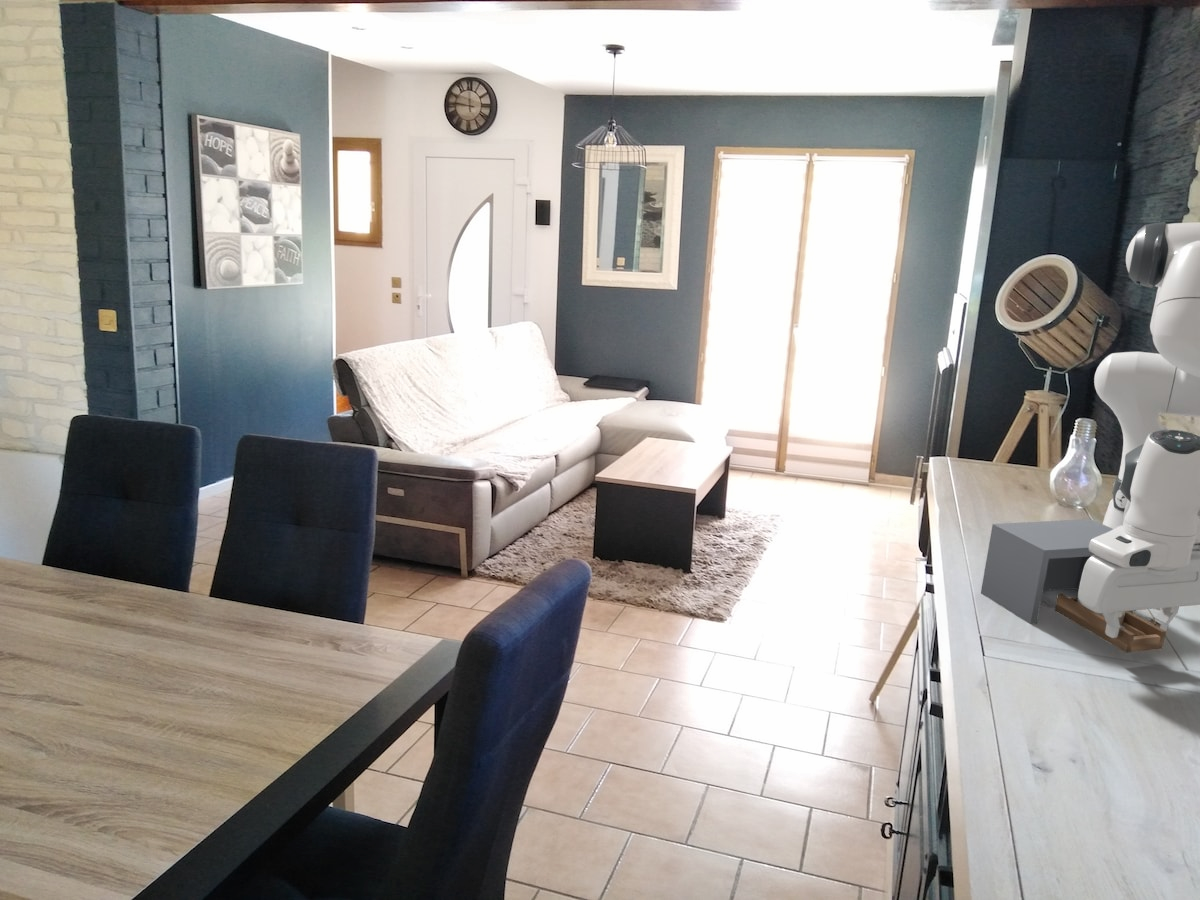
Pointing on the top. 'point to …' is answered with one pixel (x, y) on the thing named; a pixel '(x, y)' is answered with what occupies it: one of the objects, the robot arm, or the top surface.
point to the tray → (1098, 626)
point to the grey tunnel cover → (1036, 561)
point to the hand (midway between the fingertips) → (1135, 634)
